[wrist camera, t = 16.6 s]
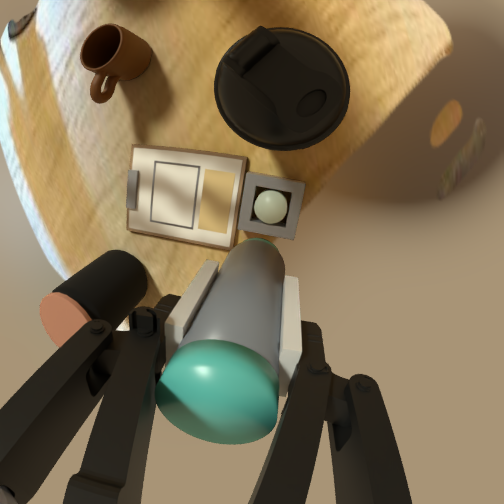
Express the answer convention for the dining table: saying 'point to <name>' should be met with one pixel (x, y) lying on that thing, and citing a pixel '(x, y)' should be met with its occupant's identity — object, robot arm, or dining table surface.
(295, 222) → the button housing
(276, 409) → the marker
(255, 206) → the button
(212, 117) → the dining table surface
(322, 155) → the dining table surface
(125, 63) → the mug
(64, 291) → the coffee jar
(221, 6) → the dining table surface
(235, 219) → the board
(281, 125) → the water bottle
